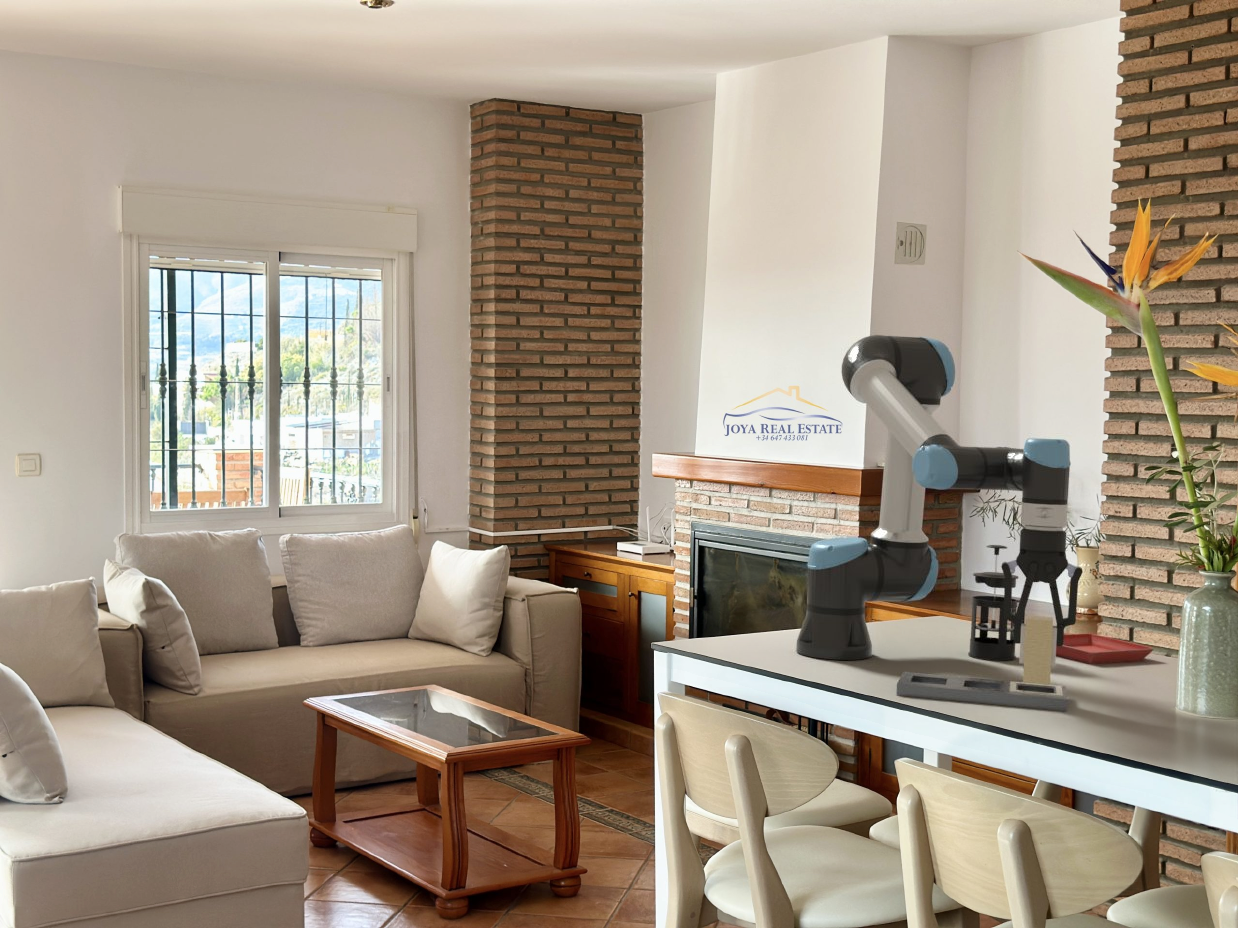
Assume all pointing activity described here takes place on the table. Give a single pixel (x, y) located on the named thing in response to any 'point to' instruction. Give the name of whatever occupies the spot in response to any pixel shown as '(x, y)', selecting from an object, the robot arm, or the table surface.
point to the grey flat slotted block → (983, 691)
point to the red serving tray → (1100, 649)
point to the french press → (983, 644)
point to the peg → (1038, 650)
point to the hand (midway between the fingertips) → (1037, 662)
